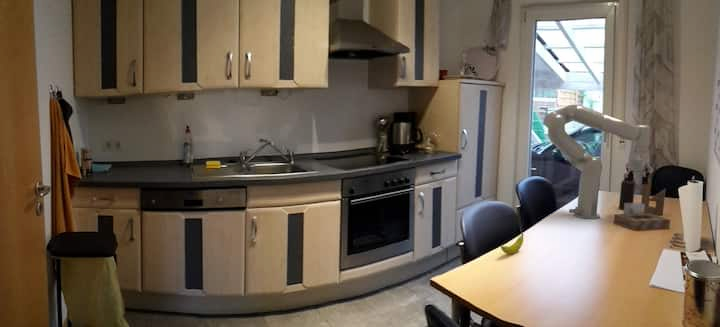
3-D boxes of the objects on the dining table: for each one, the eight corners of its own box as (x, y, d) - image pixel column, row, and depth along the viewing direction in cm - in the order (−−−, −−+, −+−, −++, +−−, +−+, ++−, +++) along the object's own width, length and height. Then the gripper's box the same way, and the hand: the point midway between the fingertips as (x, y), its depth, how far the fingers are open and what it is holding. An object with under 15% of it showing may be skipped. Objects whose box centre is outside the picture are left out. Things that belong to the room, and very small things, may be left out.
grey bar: (628, 219, 273) (630, 204, 271) (623, 218, 276) (624, 202, 275) (643, 219, 275) (644, 204, 274) (637, 217, 279) (638, 202, 278)
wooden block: (662, 215, 284) (665, 182, 281) (639, 212, 290) (642, 180, 287) (663, 214, 287) (666, 181, 284) (640, 211, 293) (643, 179, 290)
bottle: (634, 210, 294) (637, 174, 291) (620, 209, 296) (624, 174, 293) (630, 208, 301) (633, 173, 298) (617, 207, 302) (620, 172, 299)
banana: (496, 258, 204) (497, 242, 203) (518, 248, 218) (519, 233, 217) (503, 260, 202) (504, 243, 201) (525, 249, 216) (526, 234, 215)
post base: (634, 230, 251) (635, 221, 250) (613, 223, 264) (614, 214, 264) (669, 228, 256) (670, 219, 255) (646, 221, 269) (647, 212, 269)
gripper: (621, 147, 278) (619, 180, 280) (647, 151, 261) (644, 185, 264) (633, 147, 280) (631, 179, 282) (659, 151, 263) (656, 185, 266)
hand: (637, 182), depth 273 cm, fingers open, 9 cm apart
